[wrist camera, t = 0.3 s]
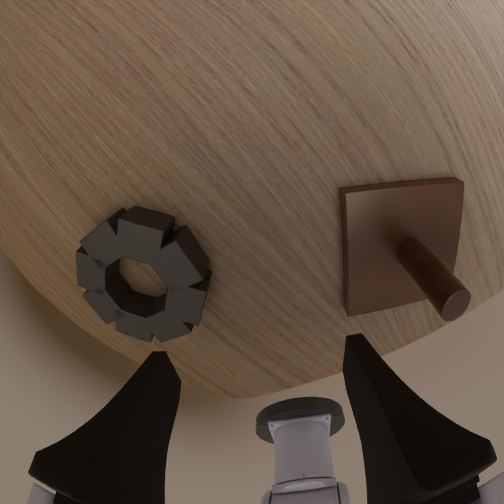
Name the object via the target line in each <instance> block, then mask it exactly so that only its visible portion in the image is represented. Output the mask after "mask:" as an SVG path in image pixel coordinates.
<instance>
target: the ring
mask: <svg viewBox="0 0 504 504" xmlns="http://www.w3.org/2000/svg"><path fill="white" fill-rule="evenodd" d="M174 220H175V217H174V216H170V215H166V214H163V213H159V212H155V211H152V210H148V209H144V208H140V207H137V206H134V207H132V208H131V209H130V210H128V211H127V212H126V211H125V210H124V208H122V209H120V210H119V211H117V212H116V213H115V214H113V215H112V216H111V217H109V218H108V219H107V220H106V221H104V222H103V223H102V224H100V225H99V226H98V227H97V228H95V229H94V230H93V231H92V232H90V233H89V234H88V235H87V236H85V237H84V238H83V239H82V240H81V241H80V243H81V245H82V246H81V247H80V248H79V249H78V250H77V251H76V266H77V281H78V286H80V287H82V288H85V289H87V290H86V292H85V293H84V294H83V297H84V298H85V300H86V301H87V302H88V303H89V304H90V306H91V307H92V308H93V309H94V310H95V312H96V313H97V314H98V315H99V316H100V317H101V319H102V320H103V321H104V322H105V323H106V324H109V323H111V322H113V321H115V323H116V331H118V332H120V333H123V334H126V335H129V336H132V337H135V338H137V339H140V340H143V341H147V342H150V343H151V341H152V338H153V336H155V337H156V338H157V339H158V340H159V341H160V342H161V343H162V342H165V341H168V340H171V339H174V338H177V337H179V336H182V335H185V334H188V333H191V332H192V328H193V325H199V321H200V318H201V314H202V310H203V306H204V303H205V299H206V295H207V291H208V287H209V283H210V279H211V275H212V272H211V271H207V267H208V264H209V259H208V257H207V256H206V254H205V253H204V252H203V250H202V249H201V247H200V246H199V244H198V243H197V241H196V240H195V238H194V236H193V235H192V233H191V232H190V230H189V229H188V227H187V226H186V225H185V226H183V227H181V228H179V229H178V230H176V231H174V232H172V231H173V225H174ZM123 256H124V257H127V258H130V259H134V260H137V261H140V262H143V263H147V264H150V265H151V266H152V268H153V269H154V270H155V272H156V273H157V274H158V276H159V277H160V278H161V280H162V281H163V282H164V283H165V285H166V286H167V287H168V289H167V293H166V294H164V295H162V296H160V297H157V298H153V297H150V296H147V295H143V294H140V293H137V292H134V291H133V290H132V289H131V288H130V287H129V285H128V284H127V283H126V282H125V280H124V279H123V278H122V276H121V275H120V274H119V259H120V258H121V257H123Z"/></svg>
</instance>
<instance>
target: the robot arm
mask: <svg viewBox="0 0 504 504" xmlns="http://www.w3.org/2000/svg"><path fill="white" fill-rule="evenodd" d="M343 374H344V379H345V385H346V390H347V394H348V397H349V400H350V404H351V407H352V411H353V414H354V417H355V421H356V424H357V428H358V431H359V435H360V439H361V443H362V451H363V458H364V465H365V474H366V486H367V504H504V472H502V473H500V474H499V475H497V476H496V477H494V478H493V479H491V480H490V481H488V482H487V483H485V484H483V485H481V486H480V487H477V483H478V482H479V481H480V479H479V476H478V474H479V473H481V472H482V471H484V470H485V469H487V468H488V467H489V466H491V465H492V464H493V463H494V462H496V460H497V457H496V454H495V451H494V448H493V446H492V444H491V442H490V440H488V439H486V438H484V437H481V436H479V435H477V434H475V433H473V432H470V431H468V430H467V429H465V428H463V427H461V426H459V425H458V424H456V423H454V422H453V421H451V420H450V419H448V418H446V417H445V416H444V415H442V414H441V413H439V412H438V411H436V410H435V409H434V408H433V407H431V406H430V405H429V404H427V403H426V402H425V401H424V400H423V399H421V398H420V397H419V396H418V395H417V394H416V393H415V392H413V391H412V390H411V389H410V388H409V387H408V386H407V385H406V384H405V383H404V382H403V381H402V380H401V379H400V378H399V377H398V376H397V375H396V374H395V372H394V371H393V370H392V369H391V368H390V367H389V366H388V365H387V364H386V363H385V361H384V360H383V359H382V358H381V357H380V355H379V354H378V353H377V352H376V351H375V349H374V348H373V347H372V346H371V344H370V343H369V342H368V340H367V339H366V338H365V337H364V335H363V334H361V333H360V334H355V335H349V336H346V343H345V352H344V361H343ZM180 389H181V380H180V378H179V376H178V374H177V372H176V370H175V369H174V367H173V365H172V363H171V361H170V359H169V357H168V355H167V353H166V351H153V352H152V353H151V354H150V355H149V356H148V358H147V359H146V360H145V361H144V362H143V364H142V365H141V366H140V367H139V369H138V370H137V371H136V372H135V373H134V375H133V376H132V377H131V378H130V379H129V381H128V382H127V383H126V384H125V385H124V386H123V388H122V389H121V390H120V391H119V392H118V393H117V394H116V395H115V396H114V397H113V398H112V399H111V400H110V402H109V403H108V404H107V405H106V406H105V407H104V408H103V409H102V410H100V411H99V412H98V413H97V414H96V415H95V416H94V417H93V418H92V419H90V420H89V421H88V422H86V423H85V424H84V425H83V426H81V427H80V428H78V429H77V430H76V431H75V432H73V433H71V434H70V435H68V436H67V437H65V438H63V439H62V440H60V441H58V442H57V443H55V444H53V445H51V446H49V447H46V448H44V449H42V450H40V451H37V452H36V453H35V456H34V458H33V461H32V463H31V466H30V469H29V471H28V473H29V475H31V476H32V477H34V478H35V479H37V480H38V481H40V482H42V483H43V484H45V485H47V486H48V487H50V488H52V489H53V490H55V491H56V494H55V495H54V494H53V493H51V492H49V491H47V490H46V489H44V488H42V487H40V486H39V485H37V484H35V483H34V484H33V486H32V489H31V492H30V495H29V498H28V502H27V504H165V469H166V459H167V450H168V445H169V441H170V436H171V433H172V429H173V425H174V421H175V416H176V412H177V408H178V404H179V398H180ZM330 424H331V414H330V413H324V414H318V415H312V416H305V417H297V418H289V419H280V420H270V421H268V426H269V429H270V432H271V435H272V438H273V441H274V445H275V485H272V490H271V491H267V492H266V494H264V495H263V497H262V501H261V504H350V500H349V493H348V488H347V486H346V484H344V483H342V482H337V484H336V477H334V472H333V464H332V457H331V450H330V443H329V435H330Z"/></svg>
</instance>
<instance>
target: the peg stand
mask: <svg viewBox="0 0 504 504" xmlns="http://www.w3.org/2000/svg"><path fill="white" fill-rule="evenodd" d="M339 191H340V203H341V217H342V234H343V259H344V309H345V311H346V314H347V316H348V317H350V316H355V315H360V314H365V313H370V312H374V311H379V310H383V309H388V308H392V307H397V306H401V305H405V304H409V303H413V302H417V301H421V300H425V299H429V301H430V302H431V304H432V305H433V306H434V308H435V309H436V310H437V312H438V313H439V315H440V316H441V318H442V319H443V320H445V321H453V320H455V319H457V318H458V317H459V316H461V315H462V314H463V313H464V311H465V310H466V309H467V307H468V305H469V303H470V298H471V296H470V292H469V291H468V290H467V288H466V287H465V286H464V285H463V284H462V283H461V282H460V281H459V280H458V279H457V278H456V277H455V276H454V275H453V271H454V266H455V261H456V255H457V249H458V242H459V235H460V227H461V218H462V207H463V191H464V182H463V181H461V180H459V179H457V178H454V177H453V178H437V179H424V180H411V181H400V182H390V183H380V184H370V185H361V186H353V187H344V188H340V189H339Z"/></svg>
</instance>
